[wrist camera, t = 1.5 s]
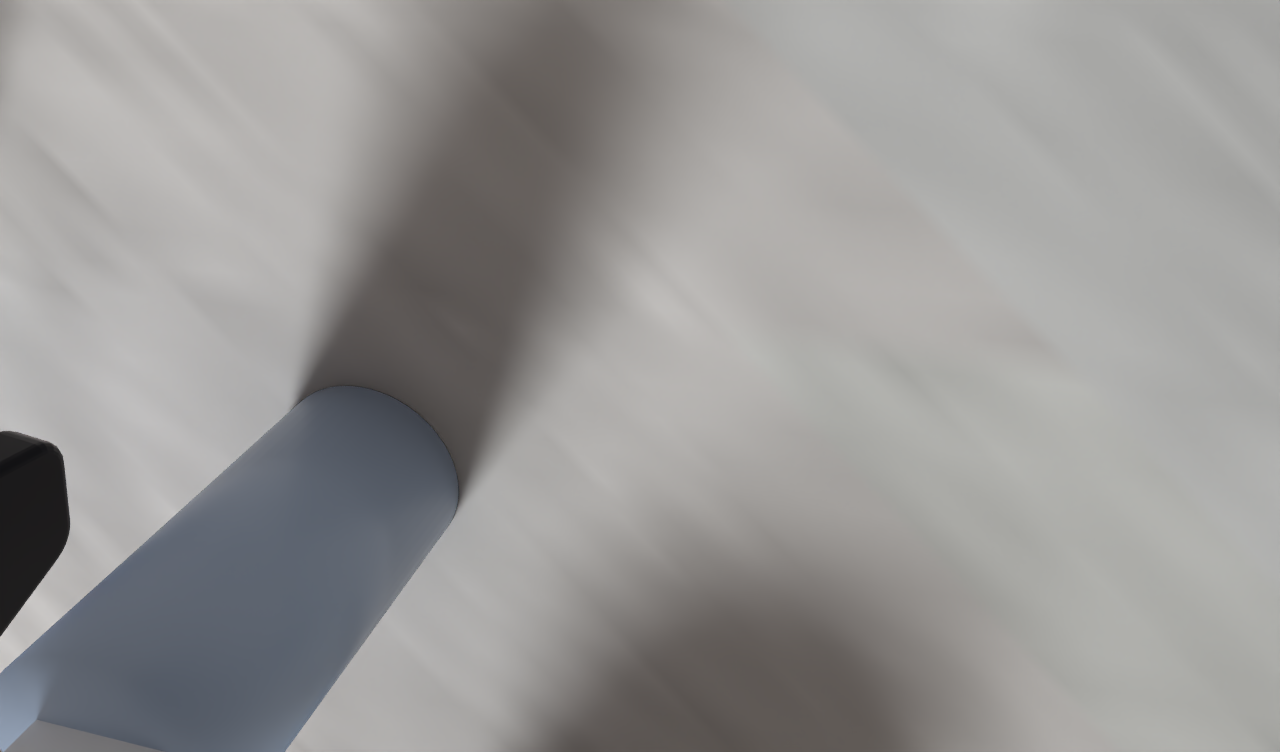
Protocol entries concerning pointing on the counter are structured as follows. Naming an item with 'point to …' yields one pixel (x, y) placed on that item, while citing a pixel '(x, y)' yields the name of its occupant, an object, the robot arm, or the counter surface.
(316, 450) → the blue-grey bottle
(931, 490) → the counter surface
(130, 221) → the counter surface
